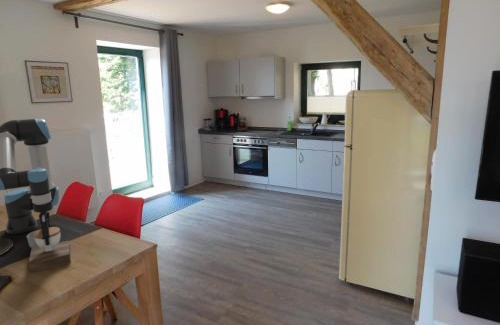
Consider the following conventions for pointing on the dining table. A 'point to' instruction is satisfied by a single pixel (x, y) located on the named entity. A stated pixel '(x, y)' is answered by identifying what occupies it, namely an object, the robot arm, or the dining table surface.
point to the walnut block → (49, 257)
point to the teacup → (32, 240)
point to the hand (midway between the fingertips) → (49, 245)
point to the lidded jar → (54, 237)
